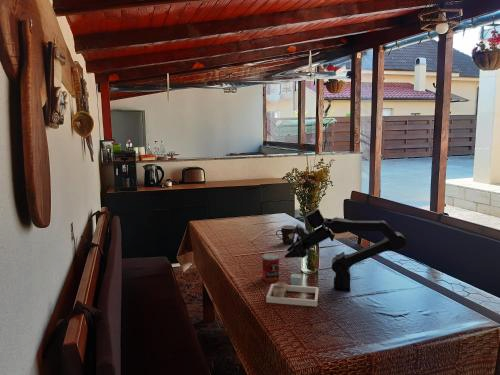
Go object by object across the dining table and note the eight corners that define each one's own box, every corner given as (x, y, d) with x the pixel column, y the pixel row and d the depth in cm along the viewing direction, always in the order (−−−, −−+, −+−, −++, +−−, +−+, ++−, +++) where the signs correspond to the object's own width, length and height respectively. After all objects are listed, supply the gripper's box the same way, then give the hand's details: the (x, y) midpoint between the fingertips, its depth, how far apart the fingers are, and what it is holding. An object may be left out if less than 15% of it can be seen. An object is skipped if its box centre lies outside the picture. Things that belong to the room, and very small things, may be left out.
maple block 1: (286, 292, 175) (286, 283, 174) (284, 295, 171) (284, 286, 170) (277, 291, 176) (277, 282, 175) (274, 294, 172) (274, 285, 172)
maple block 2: (283, 297, 169) (283, 288, 169) (283, 302, 165) (283, 292, 165) (273, 297, 169) (273, 288, 169) (273, 301, 165) (273, 292, 165)
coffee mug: (295, 241, 249) (295, 225, 248) (295, 245, 241) (295, 228, 239) (276, 241, 250) (276, 225, 249) (275, 245, 242) (275, 228, 240)
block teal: (301, 283, 184) (301, 274, 183) (300, 287, 180) (300, 278, 179) (291, 283, 185) (291, 273, 184) (290, 286, 180) (290, 277, 180)
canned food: (265, 283, 184) (265, 259, 183) (260, 276, 192) (260, 254, 190) (281, 281, 186) (281, 257, 185) (275, 275, 194) (276, 252, 192)
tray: (318, 292, 174) (318, 287, 174) (316, 306, 161) (317, 301, 160) (271, 288, 178) (271, 283, 178) (266, 302, 165) (266, 297, 164)
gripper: (308, 215, 186) (279, 232, 190) (305, 225, 168) (273, 244, 172) (321, 236, 186) (292, 253, 190) (319, 249, 168) (287, 266, 172)
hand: (286, 253), depth 181 cm, fingers open, 9 cm apart
